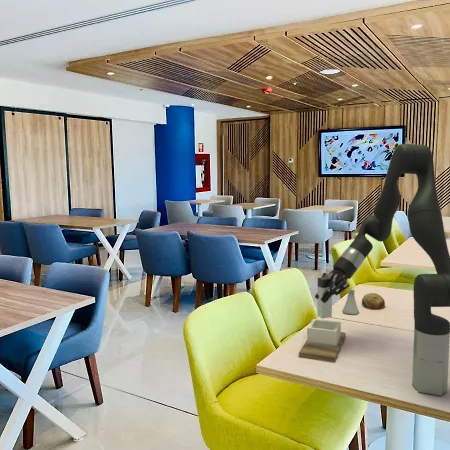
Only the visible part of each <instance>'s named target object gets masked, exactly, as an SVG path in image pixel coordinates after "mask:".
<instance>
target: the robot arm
mask: <svg viewBox="0 0 450 450" xmlns="http://www.w3.org/2000/svg"><path fill="white" fill-rule="evenodd" d="M391 154H392V155H391V157H390V159H389V160H390V161H389V164H388V168H387V172H386V175H385V179H384V183H383V186H382V190H381V193H380V196H379V197H378V200H377V202H376V203H375V206H374V208H373V211H372V213H373V214H370V215H367V216H365V217H364V218H363V220H362V223H361V225H360V228H359V230H358V232H357V235H356V236H355V238H354V239H353V241H352V242H351V243H350V244H349V246H348V247H347V248H346V249H345V250H344V251H343V252H342V253H341V255H340V256H339V257H338V258H337V260H336V261H335V262H334V264H333V265H332V267H333V268H332V270H331V271H330V272H329V273H326V272H323V273H322V275H321V277H330V278H332V283H331V284H330V287H329V289H328V292H327V291H326V293H325V294H324V295H323V296H322V298H321V301H322V302H323V303H326V302H327V301H328V300H329V298H330V297H331V296H332V297H333V296H336V297H337V296H339V295H340V294H341V293H342V292H344V291H345V290H347V289H348V288H349V287H350V283H349V282H348V280H349V279H350V280H351V278H353V276H354V275H355V273H356V272H357V271H358V269H359V268H360V267H361V266H362V264H363V262H364V261H365V259H366V258H367V256H368V255H369V254H370V253H371V251H372V250H373V248H374V246H373V244H372V242H371V241H370V240H369V239H368V238H367V236H366V235H368V236H369V237H370V238H372V239H374V240H375V241H377V242H384V241H386V240H388V238H389V237H390V236H391V233H392V228H393V220H394V217H395V214H396V213H397V211H398V208H399V206H400V203H401V192H400V187H399V184H398V182H399V179H400V177H401V175H402V174H409V175H416V177H417V190H416V192H415V194H414V196H413V198H412V200H411V203H410V205H409V207H408V209H407V220H408V221H407V222H408V227H409V231H410V235H411V236H412V238H413V240H414V241H415V242H416V243H417V244H418V245H419V247H421V249H422V250H423V251H424V252H425V253H426V255H428V257H429V258H430V260H431V262H432V264H433V265H434V268H435V271H436V273H421V274H417V275H416V276H415V279H414V281H413V320H414V322H413V323H414V325H413V326H414V330H413V355H412V378H411V380H412V381H411V382H412V384H411V385H412V387H413V388H414V389H416V390H417V393H422V394H426V395H427V394H429V395H432V396H433V395H434V396H439V397H442V396H443V394H445V393H447V392H448V384H449V383H448V381H449V358H450V321H449V320H448V319H446V318H445V317H442V316H440V315H437V314H434V313H432V308H450V252H449V248H448V243H447V238H446V232H445V228H444V227H445V226H444V220H443V216H442V215H443V214H442V212H441V211H442V210H441V207H440V203H439V198H438V197H439V196H438V192H437V187H436V177H435V175H436V174H435V162H434V157H433V152H432V150H431V148H430V147H429V146H428V145H424V144H413V143H412V144H411V143H399V144H398V145H397V146H396V147H395V148H394V150H393V153H391ZM314 298H315V299H316V300H318V291H316V294H315V295H314Z"/></svg>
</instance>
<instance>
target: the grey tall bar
mask: <svg viewBox="0 0 450 450" xmlns="http://www.w3.org/2000/svg"><path fill="white" fill-rule="evenodd" d="M331 283H332V278H330V277H322V276H321V277H317V292H318V300H317V299H316V300H317V309H316V310H317V312H316V313H317V315H316V316H317V317H318V318H320V319H321V320H324V319H329V318H332V317H333V316H332V315H333V307H332V306H333V296H331V297H330V298H329V300H328V301H327V302H326V303H323V302H322V301H321V298H322V296H323V295H324V294H325V293H326V291H327V292H328V289H329V287H330V284H331Z"/></svg>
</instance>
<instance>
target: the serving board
mask: <svg viewBox="0 0 450 450" xmlns="http://www.w3.org/2000/svg"><path fill="white" fill-rule="evenodd" d="M346 336H347V333H346V332H343V331H341V338H340V340H339V343H338V345H337V347H336V348H330V347H323V346H316V345H309V344H307V339H306V340H305V342H304V343H303V345H302V347H301V349H300V350H299V352H298V357H299V358H304V359H311V360H317V361H323V362H332V363H336V360H337V359H338V356H339V354H340V352H341V349H342V347H343V344H344V341H345V339H346Z"/></svg>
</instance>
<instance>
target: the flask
mask: <svg viewBox="0 0 450 450" xmlns="http://www.w3.org/2000/svg"><path fill="white" fill-rule="evenodd" d="M346 290H347V299H346V301H345V304H344V305H343V306H344V307H343V309H342V313H343V314H346V315H349V316H350V315H354V316H356V315H358V314H360V311H359V308H358V305H357V301H356V297H355V292H356V290H355V289H351V288H350V289H346Z"/></svg>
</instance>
